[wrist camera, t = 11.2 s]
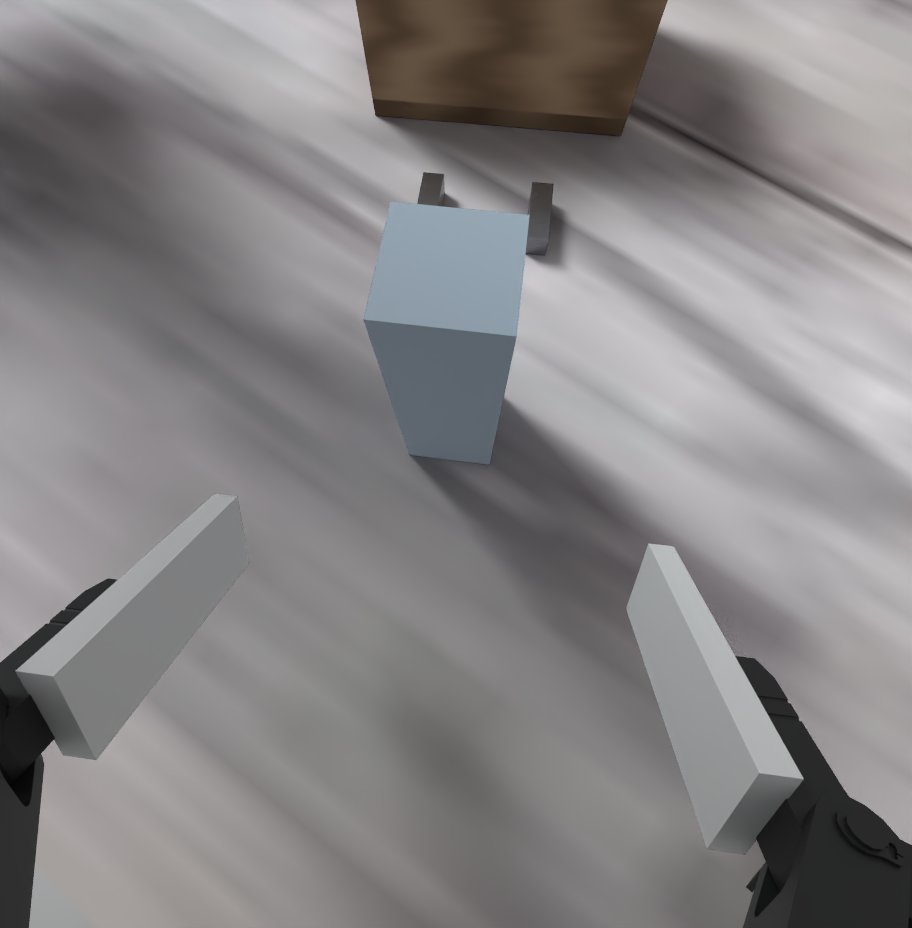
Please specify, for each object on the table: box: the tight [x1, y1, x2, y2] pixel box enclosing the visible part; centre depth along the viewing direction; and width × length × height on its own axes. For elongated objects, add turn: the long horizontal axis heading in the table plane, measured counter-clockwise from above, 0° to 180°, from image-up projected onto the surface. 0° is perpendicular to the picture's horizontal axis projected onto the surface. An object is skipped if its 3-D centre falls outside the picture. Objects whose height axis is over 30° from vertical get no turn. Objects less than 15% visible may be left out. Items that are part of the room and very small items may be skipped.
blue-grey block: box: [363, 202, 530, 465], centre depth 17 cm, size 4×4×11 cm
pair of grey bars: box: [417, 172, 553, 255], centre depth 26 cm, size 8×4×1 cm, turn 83°
